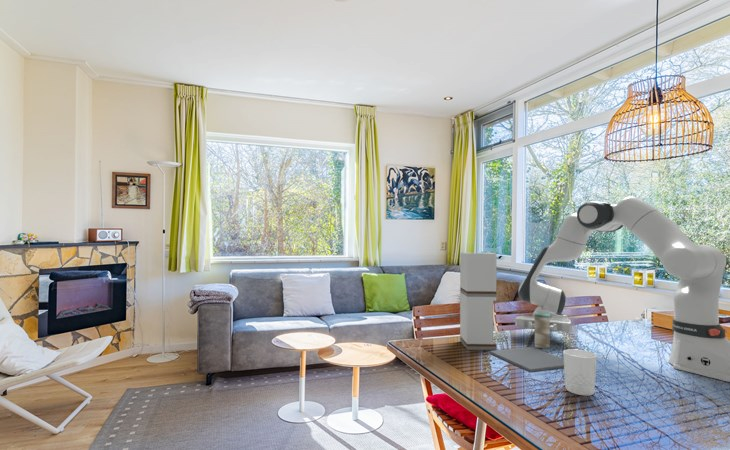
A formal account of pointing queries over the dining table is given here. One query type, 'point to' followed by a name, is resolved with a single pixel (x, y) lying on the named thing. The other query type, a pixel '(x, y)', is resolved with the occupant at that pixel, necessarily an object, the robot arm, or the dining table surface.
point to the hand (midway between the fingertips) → (542, 327)
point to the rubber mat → (530, 358)
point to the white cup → (580, 371)
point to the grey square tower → (477, 300)
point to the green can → (542, 330)
